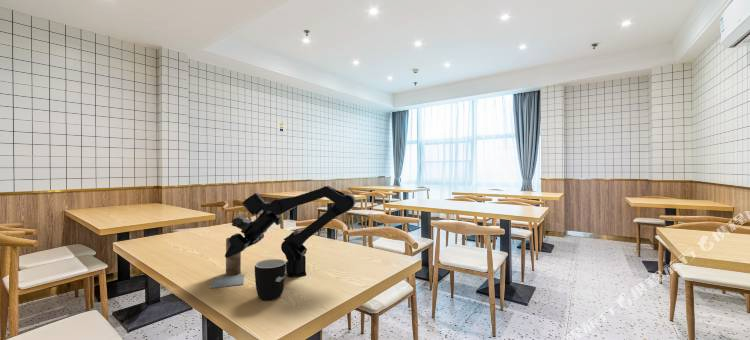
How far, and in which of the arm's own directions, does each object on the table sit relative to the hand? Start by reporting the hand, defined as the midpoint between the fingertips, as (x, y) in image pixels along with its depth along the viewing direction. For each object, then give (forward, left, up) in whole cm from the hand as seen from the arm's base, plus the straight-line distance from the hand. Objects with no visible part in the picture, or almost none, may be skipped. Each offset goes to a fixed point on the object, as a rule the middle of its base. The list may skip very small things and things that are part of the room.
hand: (231, 253), depth 114 cm
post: (-1, 0, -7) cm, 7 cm away
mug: (-14, +26, -7) cm, 30 cm away
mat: (0, +9, -7) cm, 12 cm away
